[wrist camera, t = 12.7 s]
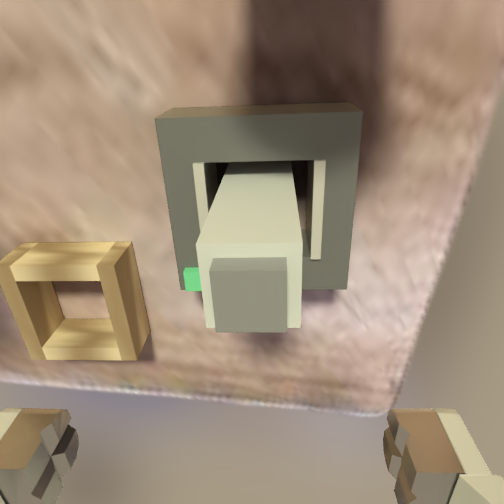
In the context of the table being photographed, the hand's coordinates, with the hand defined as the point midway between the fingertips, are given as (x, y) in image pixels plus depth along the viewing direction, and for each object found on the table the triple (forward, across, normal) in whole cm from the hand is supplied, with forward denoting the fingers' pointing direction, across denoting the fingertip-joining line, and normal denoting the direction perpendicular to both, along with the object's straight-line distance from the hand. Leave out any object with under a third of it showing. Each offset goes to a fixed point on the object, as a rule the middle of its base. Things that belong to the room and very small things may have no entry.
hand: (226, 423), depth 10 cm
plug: (+18, -1, 0) cm, 18 cm away
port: (+18, -1, 0) cm, 18 cm away
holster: (+18, +13, +8) cm, 24 cm away
